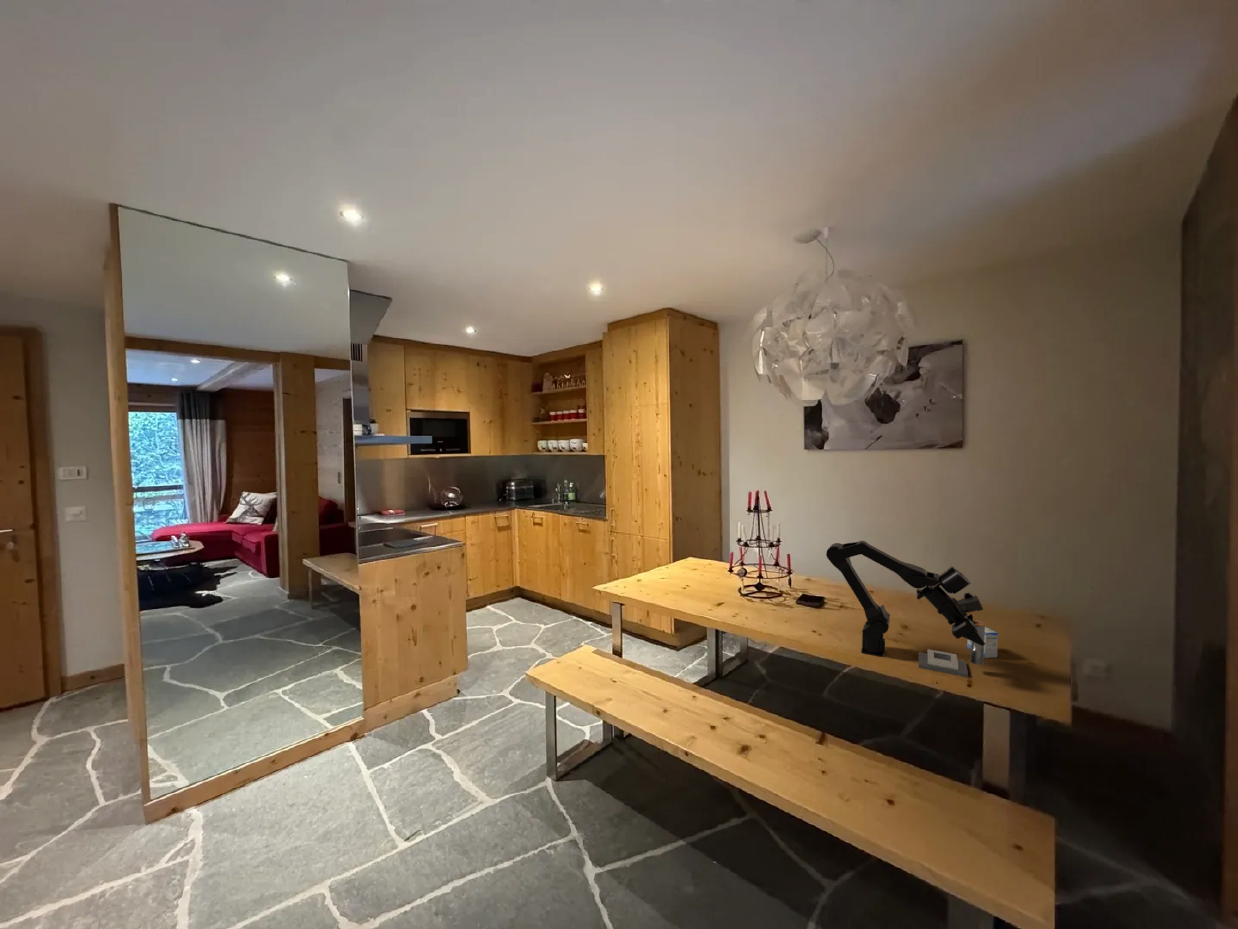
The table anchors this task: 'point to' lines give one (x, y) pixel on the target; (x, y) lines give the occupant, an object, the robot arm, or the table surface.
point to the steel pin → (977, 649)
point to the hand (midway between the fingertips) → (983, 642)
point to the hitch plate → (960, 666)
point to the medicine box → (988, 643)
